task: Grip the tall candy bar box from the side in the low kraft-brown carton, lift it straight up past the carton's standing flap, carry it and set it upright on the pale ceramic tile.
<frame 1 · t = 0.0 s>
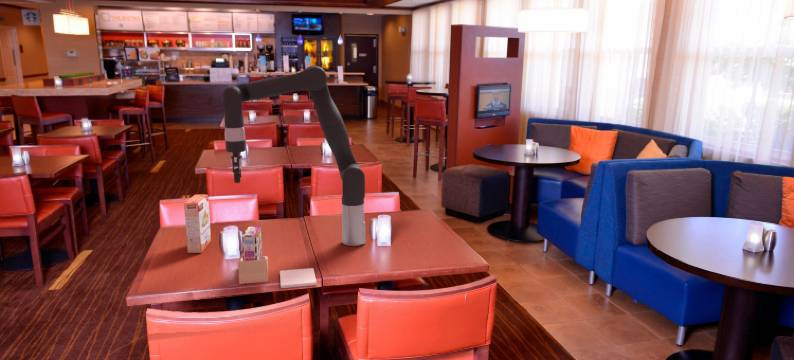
hand: (238, 180, 208), 29 cm above the table, tool pointing down, fingers open, 8 cm apart
candy bar box: (254, 274, 192), resting in kraft carton
ceramic tile: (297, 279, 188), on the table
cracker box: (200, 248, 218), on the table
kraft carton: (254, 274, 192), on the table
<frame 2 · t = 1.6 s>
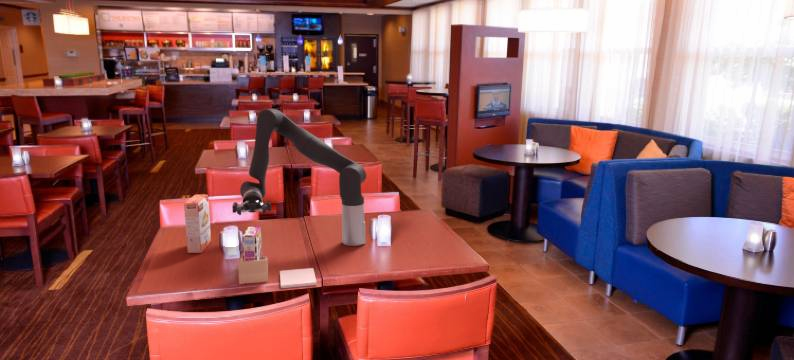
hand: (251, 212, 198), 20 cm above the table, tool horizontal, fingers open, 8 cm apart
nothing on the table moved.
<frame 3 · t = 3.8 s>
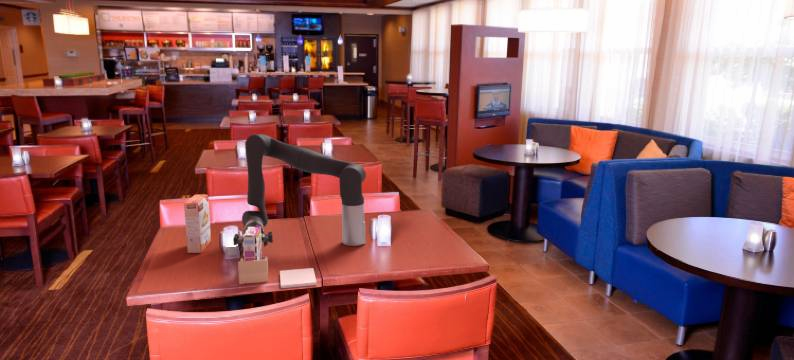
hand: (252, 244, 196), 9 cm above the table, tool horizontal, fingers open, 8 cm apart
nothing on the table moved.
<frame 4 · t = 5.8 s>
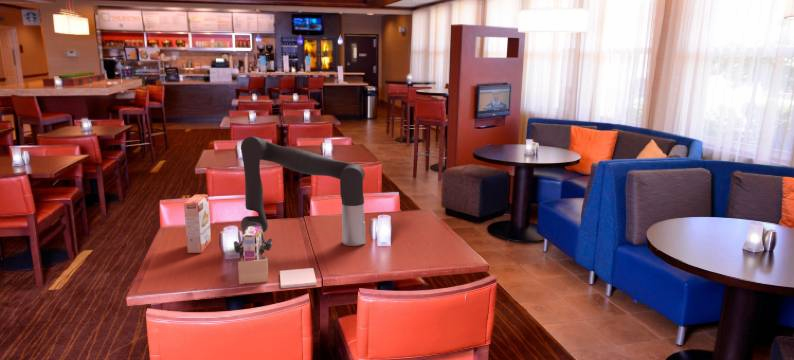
hand: (252, 252, 188), 9 cm above the table, tool horizontal, fingers closed on candy bar box, 5 cm apart
candy bar box: (254, 274, 192), resting in kraft carton, touching gripper
everything else where it was.
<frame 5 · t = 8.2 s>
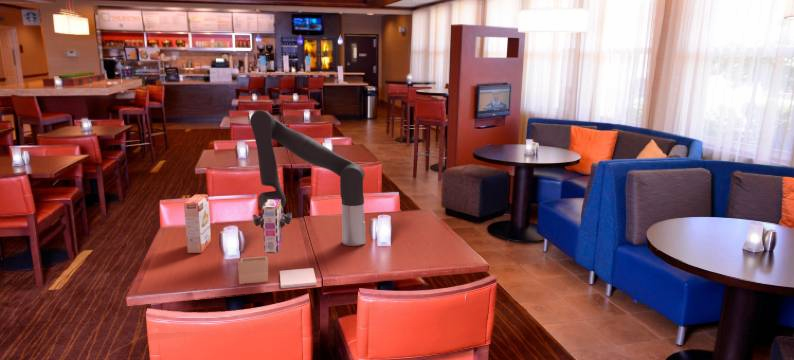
hand: (272, 225, 184), 20 cm above the table, tool horizontal, fingers closed on candy bar box, 5 cm apart
candy bar box: (273, 248, 188), point 10 cm above the table, touching gripper
everything else where it was.
when the fingers open (11 cm above the table, at t = 10.8 s): candy bar box drops 1 cm, resting on ceramic tile.
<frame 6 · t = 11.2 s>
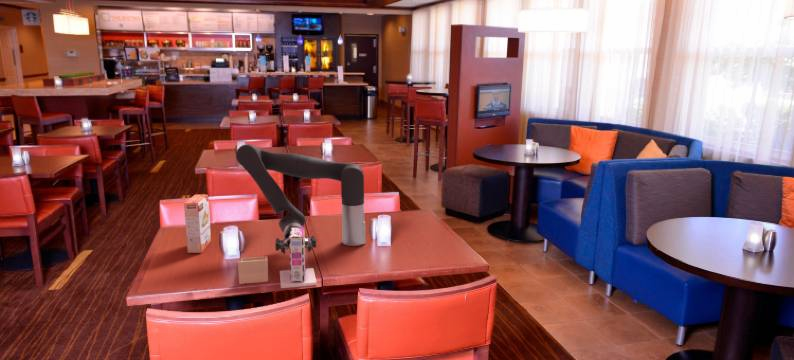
hand: (296, 250, 184), 12 cm above the table, tool horizontal, fingers open, 8 cm apart
candy bar box: (298, 276, 188), point 1 cm above the table, touching ceramic tile
everything else where it was.
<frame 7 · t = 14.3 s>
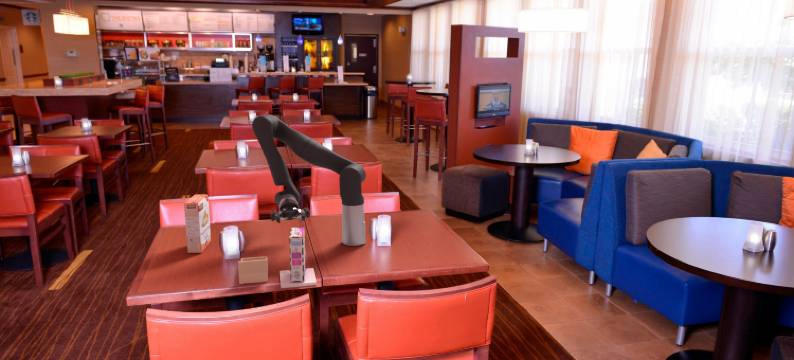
hand: (291, 219, 195), 18 cm above the table, tool horizontal, fingers open, 8 cm apart
nothing on the table moved.
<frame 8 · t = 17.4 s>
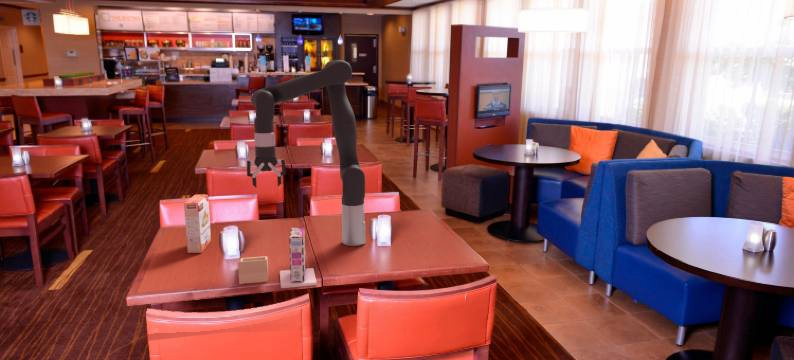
hand: (267, 186, 203), 28 cm above the table, tool pointing down, fingers open, 8 cm apart
nothing on the table moved.
at the end: candy bar box inside the target area on the ceramic tile (0.4 cm from its centre), point 0.8 cm above the ceramic tile's base; candy bar box tilted 0°; the gripper is holding nothing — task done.
